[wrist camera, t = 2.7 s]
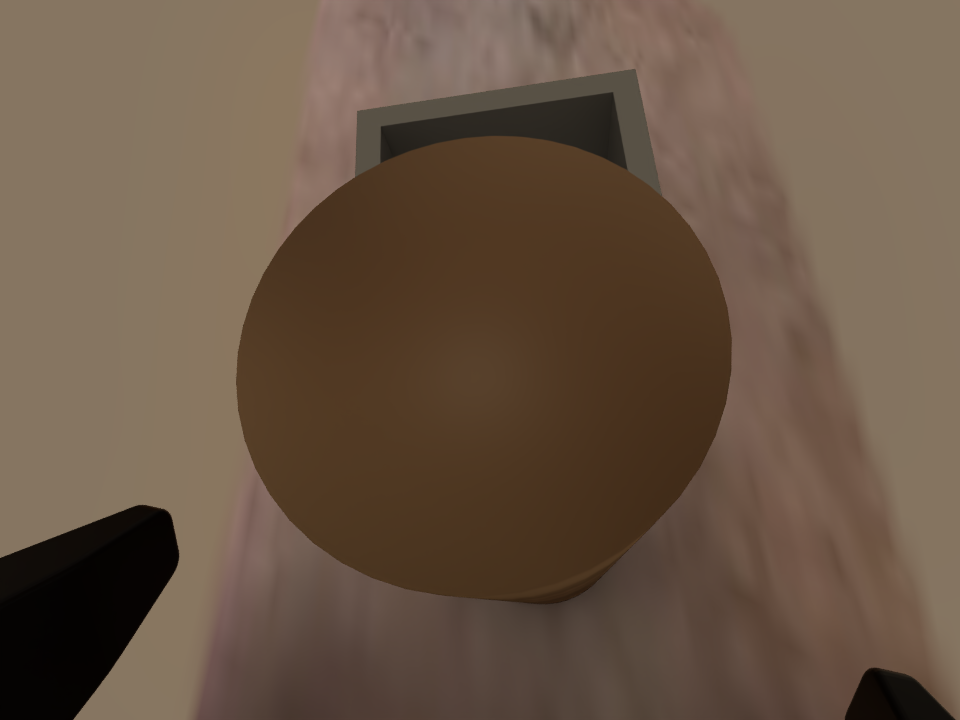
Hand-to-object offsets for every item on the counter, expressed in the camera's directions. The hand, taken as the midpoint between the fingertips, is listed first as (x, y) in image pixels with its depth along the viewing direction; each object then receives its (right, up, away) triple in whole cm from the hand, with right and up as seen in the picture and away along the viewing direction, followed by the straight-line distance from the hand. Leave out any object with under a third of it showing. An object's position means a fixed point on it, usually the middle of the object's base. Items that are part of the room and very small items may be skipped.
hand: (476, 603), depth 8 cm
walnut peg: (+2, -1, +10) cm, 10 cm away
